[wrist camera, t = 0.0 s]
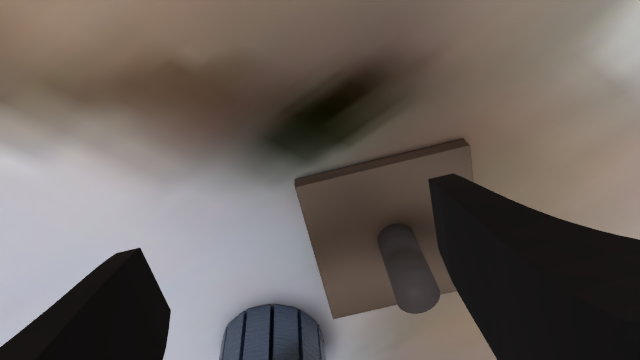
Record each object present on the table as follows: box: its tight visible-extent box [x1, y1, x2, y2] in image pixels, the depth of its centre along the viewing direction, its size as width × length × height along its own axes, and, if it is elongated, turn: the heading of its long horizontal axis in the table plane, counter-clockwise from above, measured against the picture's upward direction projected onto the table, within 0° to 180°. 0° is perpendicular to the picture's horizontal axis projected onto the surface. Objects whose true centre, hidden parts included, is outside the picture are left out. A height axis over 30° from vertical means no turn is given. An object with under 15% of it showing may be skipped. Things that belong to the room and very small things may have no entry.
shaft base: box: [295, 139, 473, 319], centre depth 21 cm, size 8×8×5 cm
